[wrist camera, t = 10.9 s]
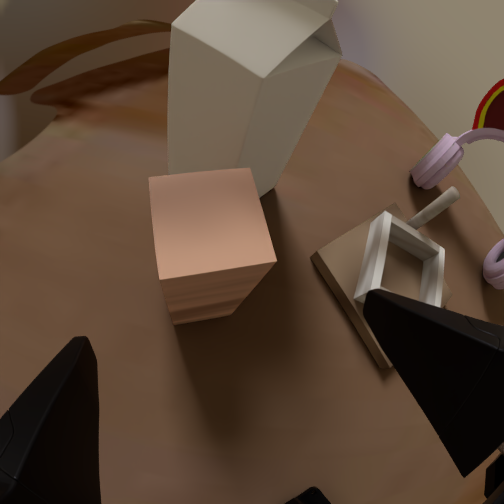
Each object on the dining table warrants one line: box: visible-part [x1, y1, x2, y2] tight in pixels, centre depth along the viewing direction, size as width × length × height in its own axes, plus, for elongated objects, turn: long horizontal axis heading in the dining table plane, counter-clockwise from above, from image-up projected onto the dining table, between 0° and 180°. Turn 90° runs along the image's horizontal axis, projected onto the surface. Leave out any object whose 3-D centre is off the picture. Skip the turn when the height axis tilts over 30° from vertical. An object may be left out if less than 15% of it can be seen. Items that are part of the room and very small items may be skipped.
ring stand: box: [310, 186, 460, 369], centre depth 22 cm, size 12×12×10 cm
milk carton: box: [168, 0, 342, 198], centre depth 18 cm, size 7×7×19 cm
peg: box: [149, 168, 277, 325], centre depth 17 cm, size 4×4×12 cm
